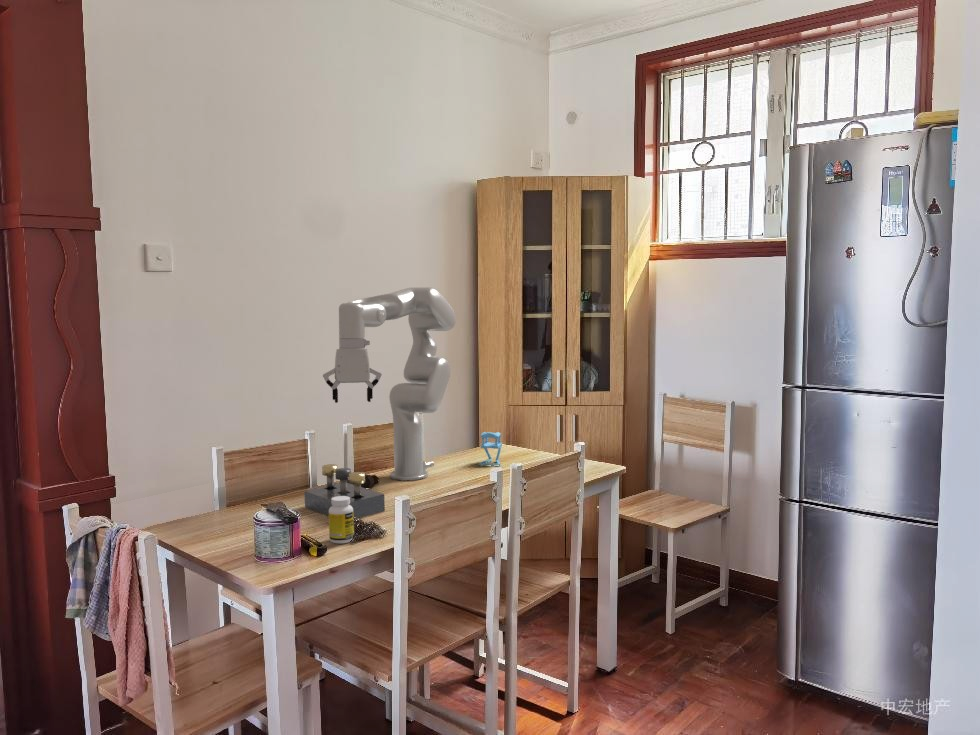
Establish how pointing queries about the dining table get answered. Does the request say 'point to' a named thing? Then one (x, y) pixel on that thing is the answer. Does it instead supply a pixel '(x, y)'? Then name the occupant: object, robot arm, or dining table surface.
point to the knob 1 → (329, 474)
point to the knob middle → (343, 478)
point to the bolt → (368, 481)
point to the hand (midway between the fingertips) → (352, 401)
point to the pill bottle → (341, 520)
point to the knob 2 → (357, 482)
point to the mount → (362, 507)
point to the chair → (491, 446)
